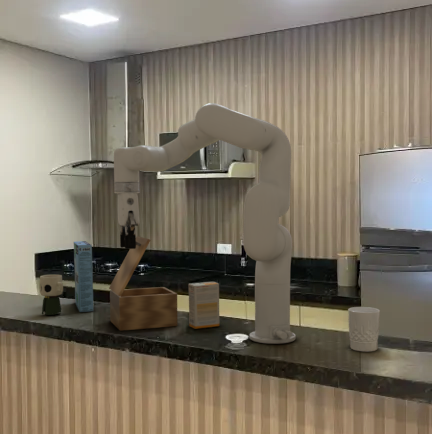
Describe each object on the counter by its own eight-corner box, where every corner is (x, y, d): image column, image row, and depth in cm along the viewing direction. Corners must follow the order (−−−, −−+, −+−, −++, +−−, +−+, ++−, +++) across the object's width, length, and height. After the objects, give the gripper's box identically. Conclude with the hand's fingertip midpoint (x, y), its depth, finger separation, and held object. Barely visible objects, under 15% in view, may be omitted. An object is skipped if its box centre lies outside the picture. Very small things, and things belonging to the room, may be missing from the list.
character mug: (32, 314, 199) (31, 275, 199) (49, 311, 205) (48, 273, 205) (54, 318, 193) (53, 278, 193) (71, 314, 199) (70, 275, 198)
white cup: (346, 344, 157) (346, 306, 157) (376, 345, 156) (377, 307, 156) (349, 352, 149) (350, 312, 149) (382, 352, 149) (382, 312, 148)
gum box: (93, 311, 204) (92, 244, 203) (78, 312, 203) (77, 245, 202) (88, 302, 223) (87, 240, 222) (74, 303, 221) (73, 241, 220)
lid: (139, 237, 191) (125, 229, 189) (150, 240, 177) (136, 232, 175) (111, 289, 188) (96, 282, 186) (120, 296, 174) (105, 288, 173)
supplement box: (213, 323, 184) (212, 281, 183) (219, 326, 180) (219, 283, 179) (188, 326, 180) (188, 283, 180) (194, 329, 176) (194, 285, 176)
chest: (164, 317, 195) (164, 287, 194) (177, 325, 181) (177, 293, 181) (110, 321, 188) (109, 290, 188) (119, 330, 175) (119, 297, 174)
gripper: (145, 188, 174) (146, 249, 175) (133, 189, 191) (134, 245, 191) (120, 188, 172) (121, 250, 173) (109, 189, 188) (110, 246, 189)
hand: (128, 247), depth 182 cm, fingers closed on lid, 6 cm apart
